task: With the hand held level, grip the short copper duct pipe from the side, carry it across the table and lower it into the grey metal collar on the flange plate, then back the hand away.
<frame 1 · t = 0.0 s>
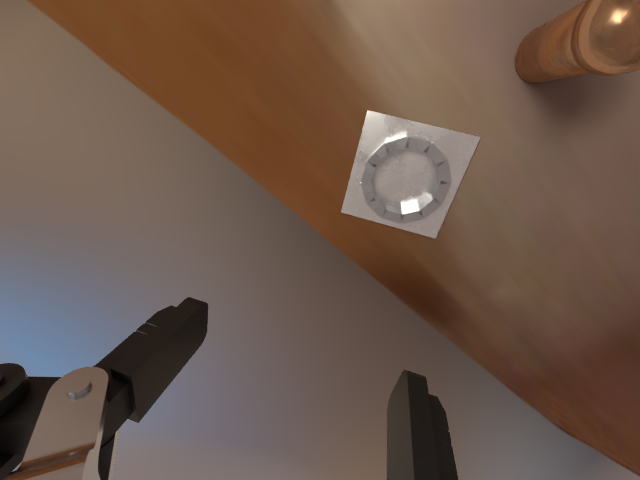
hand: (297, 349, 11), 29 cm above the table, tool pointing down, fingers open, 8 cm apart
duct collar: (403, 177, 36), on the table
copper duct pipe: (543, 54, 28), on the table
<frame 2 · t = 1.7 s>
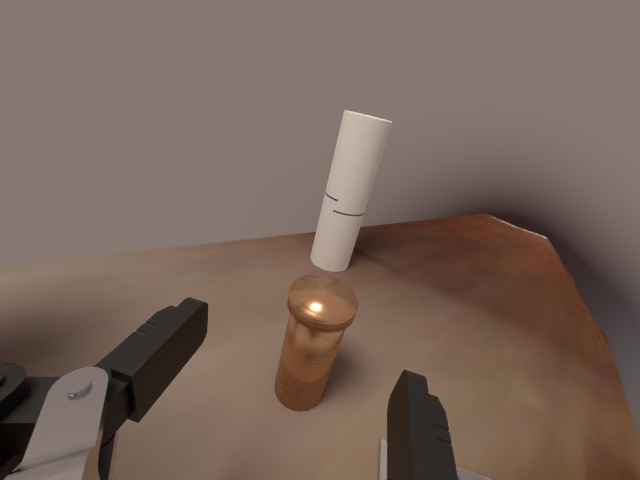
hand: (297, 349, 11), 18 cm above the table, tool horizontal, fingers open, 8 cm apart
cylindrical container: (329, 261, 52), on the table
copper duct pipe: (298, 386, 29), on the table
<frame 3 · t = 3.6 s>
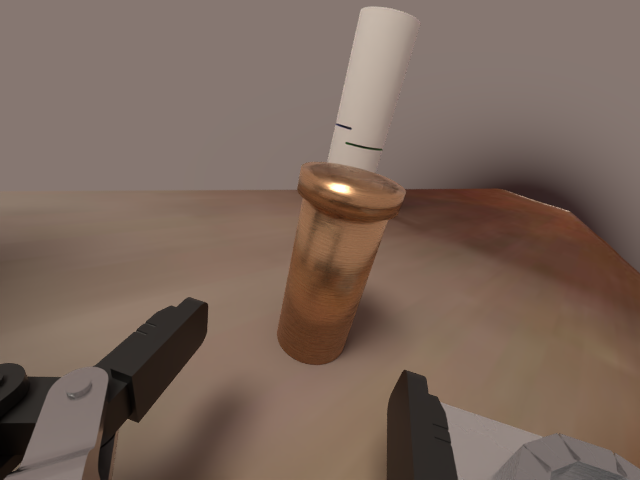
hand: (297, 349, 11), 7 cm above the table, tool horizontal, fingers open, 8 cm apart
cylindrical container: (339, 215, 44), on the table
copper duct pipe: (311, 335, 21), on the table
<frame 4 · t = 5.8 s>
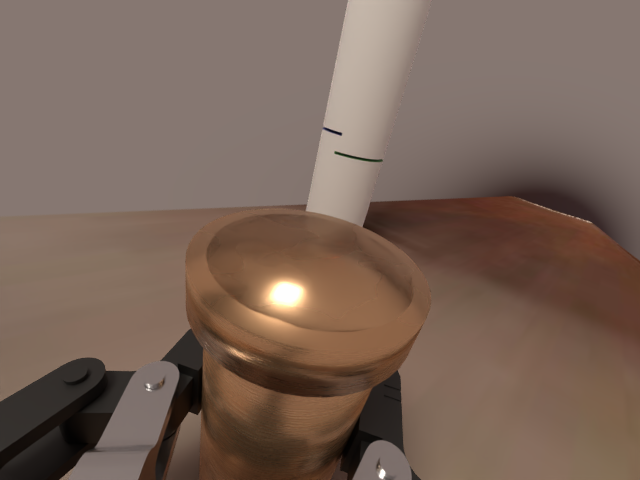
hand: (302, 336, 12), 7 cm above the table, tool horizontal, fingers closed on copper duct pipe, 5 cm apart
cylindrical container: (329, 239, 36), on the table
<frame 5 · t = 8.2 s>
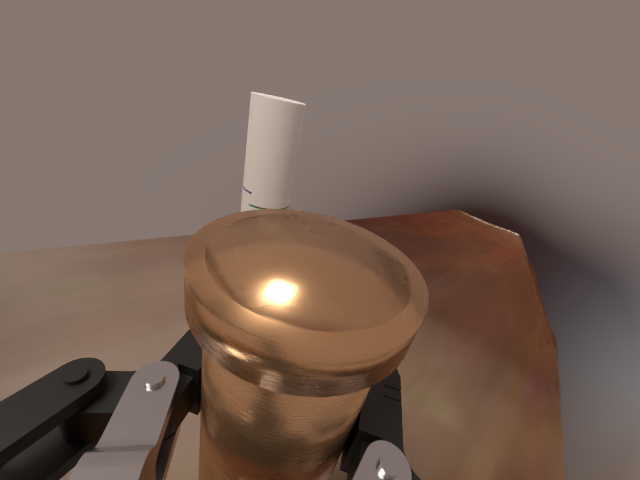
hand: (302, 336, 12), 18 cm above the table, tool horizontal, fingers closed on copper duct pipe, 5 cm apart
cylindrical container: (258, 260, 48), on the table
when the fingers open (9 cm above the table, at t = 10.8 s): copper duct pipe drops 1 cm, resting on duct collar.
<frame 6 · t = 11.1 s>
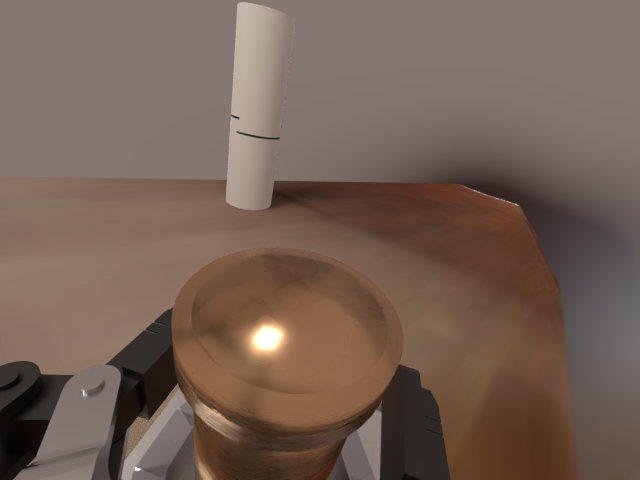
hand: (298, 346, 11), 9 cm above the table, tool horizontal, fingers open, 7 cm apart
cylindrical container: (248, 202, 46), on the table
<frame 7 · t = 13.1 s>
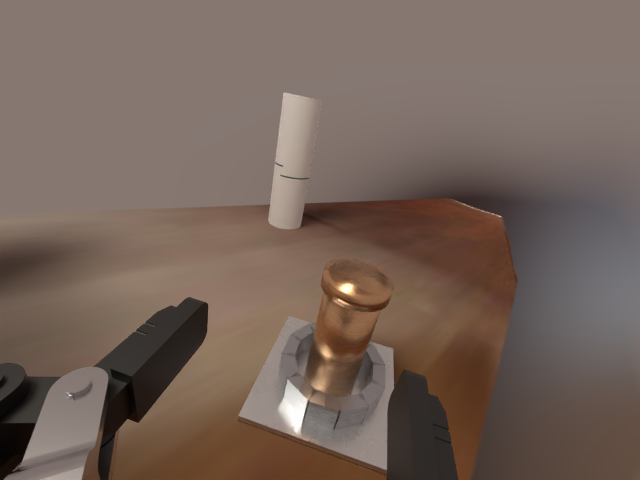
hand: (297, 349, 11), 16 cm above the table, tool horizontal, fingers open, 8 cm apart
cylindrical container: (284, 223, 62), on the table
duct collar: (328, 380, 28), on the table
copper duct pipe: (329, 376, 28), point 1 cm above the table, touching duct collar
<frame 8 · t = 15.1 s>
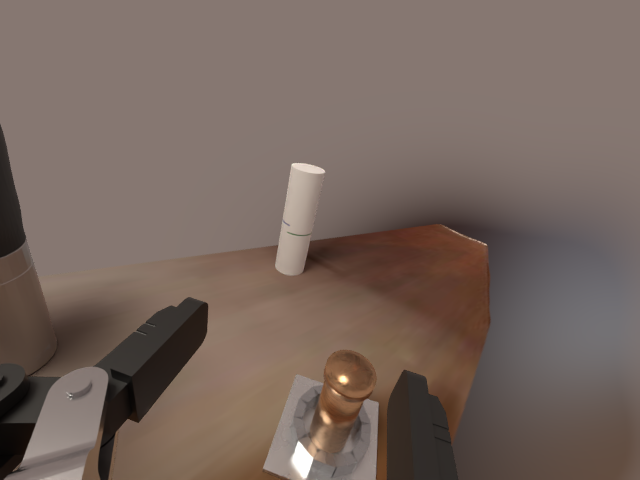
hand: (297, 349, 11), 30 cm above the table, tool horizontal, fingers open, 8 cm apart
cylindrical container: (289, 267, 70), on the table
duct collar: (327, 433, 37), on the table
copper duct pipe: (328, 431, 37), point 1 cm above the table, touching duct collar
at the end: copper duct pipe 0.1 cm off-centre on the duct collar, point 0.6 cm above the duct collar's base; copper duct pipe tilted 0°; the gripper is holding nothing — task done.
